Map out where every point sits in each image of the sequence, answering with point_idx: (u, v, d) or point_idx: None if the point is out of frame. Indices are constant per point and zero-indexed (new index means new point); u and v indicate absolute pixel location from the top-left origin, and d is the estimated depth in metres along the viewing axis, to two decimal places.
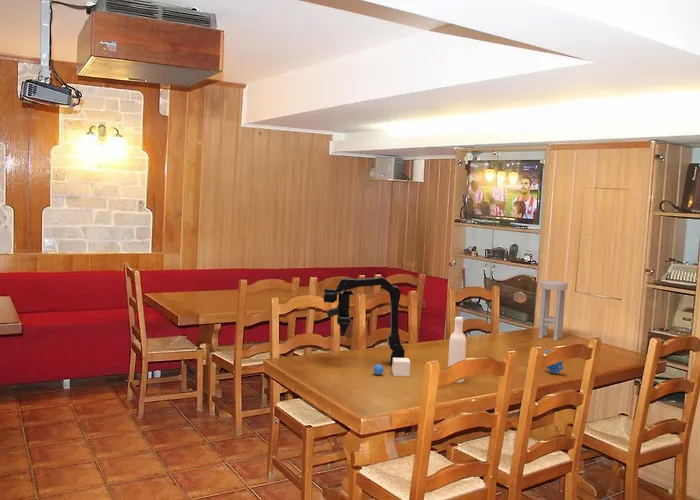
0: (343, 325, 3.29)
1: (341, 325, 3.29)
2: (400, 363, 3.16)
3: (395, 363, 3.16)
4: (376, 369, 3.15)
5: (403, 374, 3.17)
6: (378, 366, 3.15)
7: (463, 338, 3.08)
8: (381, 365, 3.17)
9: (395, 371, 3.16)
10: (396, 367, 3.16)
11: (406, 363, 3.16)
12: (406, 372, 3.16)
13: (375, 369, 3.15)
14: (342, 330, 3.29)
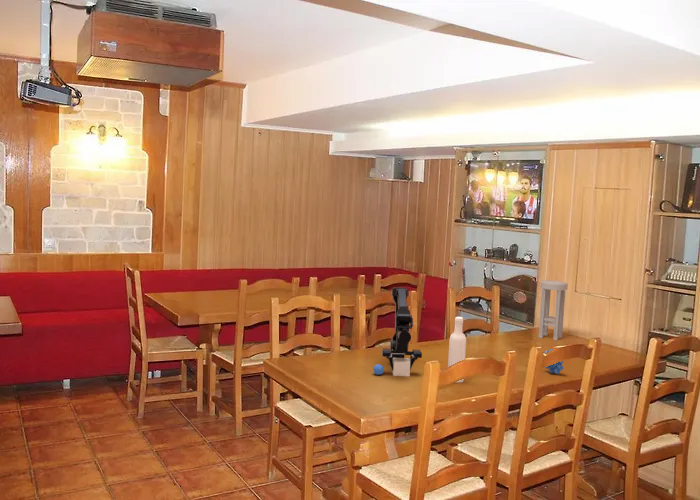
0: None
1: None
2: (400, 363, 3.16)
3: (395, 363, 3.16)
4: (376, 369, 3.15)
5: (403, 374, 3.17)
6: (378, 366, 3.15)
7: (463, 338, 3.08)
8: (381, 365, 3.17)
9: (395, 371, 3.16)
10: (396, 367, 3.16)
11: (406, 363, 3.16)
12: (406, 372, 3.16)
13: (375, 369, 3.15)
14: None
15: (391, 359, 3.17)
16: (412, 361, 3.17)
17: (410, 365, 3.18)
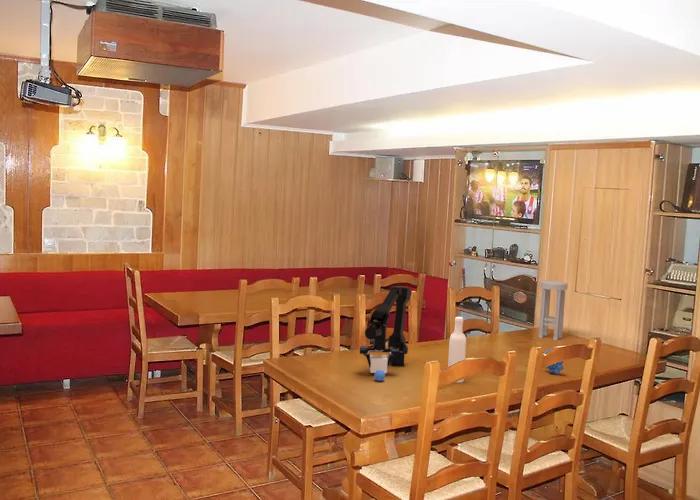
0: None
1: None
2: (377, 360, 3.14)
3: (372, 360, 3.14)
4: None
5: None
6: None
7: (463, 338, 3.08)
8: None
9: (372, 368, 3.14)
10: (373, 364, 3.14)
11: (383, 360, 3.14)
12: (383, 368, 3.14)
13: None
14: None
15: (368, 356, 3.15)
16: (389, 358, 3.15)
17: (387, 362, 3.16)
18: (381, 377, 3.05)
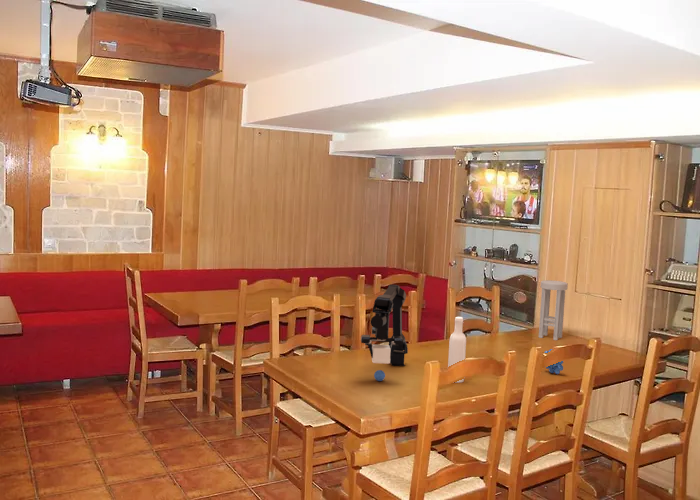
0: None
1: None
2: (380, 349, 3.00)
3: (374, 349, 3.00)
4: None
5: (383, 361, 3.01)
6: None
7: (463, 338, 3.08)
8: None
9: (374, 358, 3.00)
10: (376, 354, 3.00)
11: (386, 349, 3.00)
12: (386, 359, 3.01)
13: None
14: None
15: (370, 346, 3.01)
16: (392, 348, 3.01)
17: (390, 352, 3.02)
18: (381, 377, 3.05)
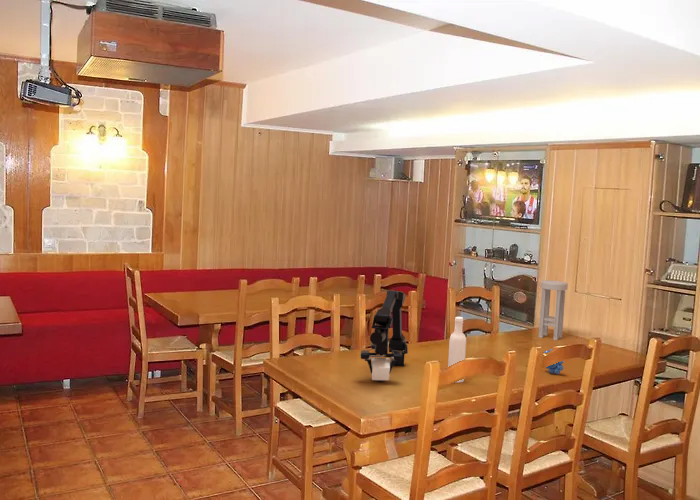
0: None
1: None
2: (379, 369, 3.00)
3: (374, 369, 3.00)
4: None
5: (382, 378, 3.02)
6: None
7: (463, 338, 3.08)
8: None
9: (374, 376, 3.02)
10: (375, 372, 3.01)
11: (385, 369, 3.00)
12: (385, 376, 3.02)
13: None
14: None
15: (370, 362, 3.02)
16: (392, 364, 3.02)
17: (390, 368, 3.03)
18: None
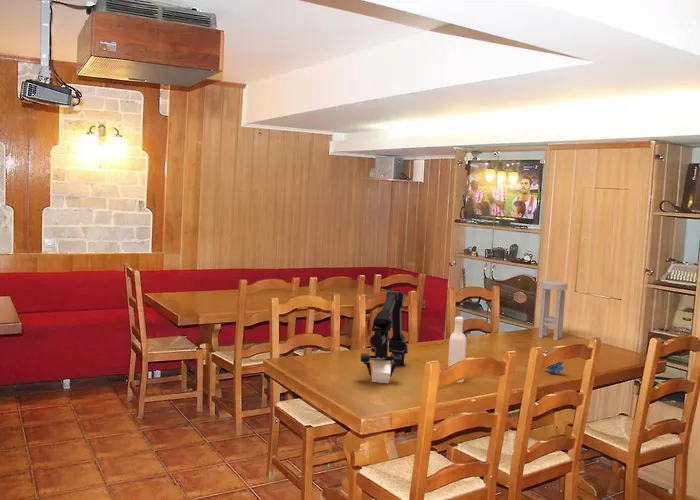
0: None
1: None
2: (380, 373, 3.00)
3: (374, 373, 3.00)
4: None
5: (382, 381, 3.03)
6: None
7: (463, 338, 3.08)
8: None
9: (374, 378, 3.02)
10: (375, 376, 3.01)
11: (386, 373, 3.00)
12: (385, 380, 3.03)
13: None
14: None
15: (368, 364, 3.02)
16: (393, 367, 3.02)
17: (391, 371, 3.03)
18: None
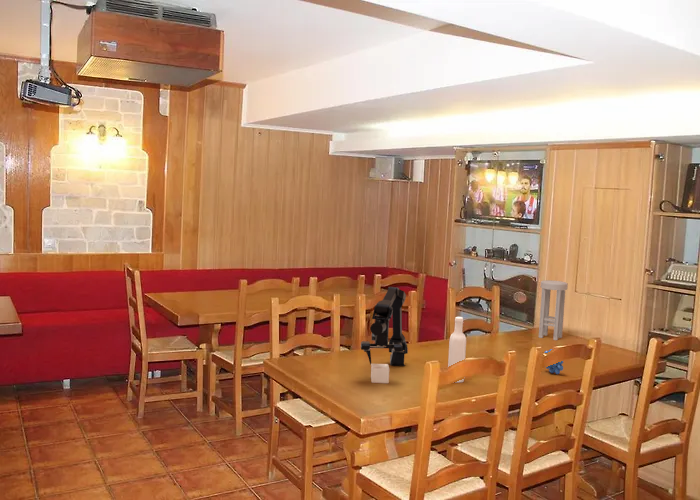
0: None
1: None
2: (379, 369, 3.03)
3: (373, 369, 3.03)
4: None
5: (382, 381, 3.04)
6: None
7: (463, 338, 3.08)
8: None
9: (373, 378, 3.04)
10: (374, 374, 3.03)
11: (385, 369, 3.03)
12: (385, 378, 3.04)
13: None
14: None
15: (369, 352, 3.01)
16: (393, 355, 3.02)
17: (391, 359, 3.02)
18: None
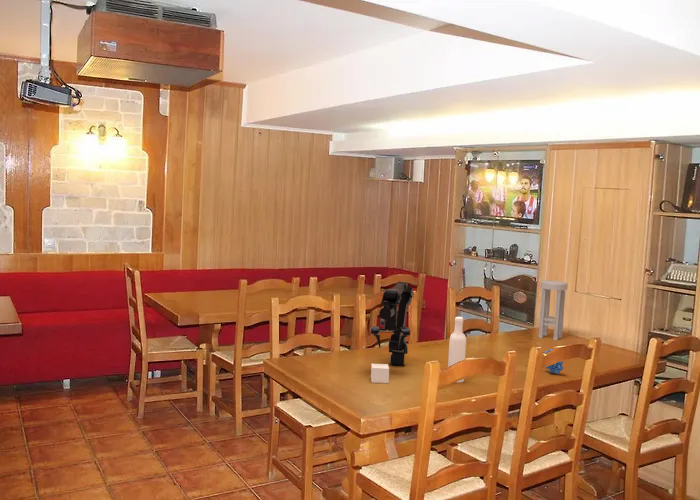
0: None
1: None
2: (379, 369, 3.03)
3: (373, 369, 3.03)
4: None
5: (382, 381, 3.04)
6: None
7: (463, 338, 3.08)
8: None
9: (373, 378, 3.04)
10: (374, 374, 3.03)
11: (385, 369, 3.03)
12: (385, 378, 3.04)
13: None
14: None
15: (378, 336, 3.17)
16: (401, 338, 3.17)
17: (400, 343, 3.18)
18: None
